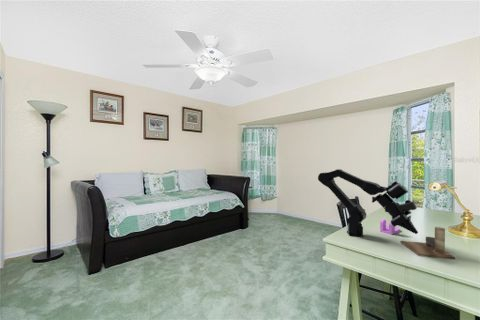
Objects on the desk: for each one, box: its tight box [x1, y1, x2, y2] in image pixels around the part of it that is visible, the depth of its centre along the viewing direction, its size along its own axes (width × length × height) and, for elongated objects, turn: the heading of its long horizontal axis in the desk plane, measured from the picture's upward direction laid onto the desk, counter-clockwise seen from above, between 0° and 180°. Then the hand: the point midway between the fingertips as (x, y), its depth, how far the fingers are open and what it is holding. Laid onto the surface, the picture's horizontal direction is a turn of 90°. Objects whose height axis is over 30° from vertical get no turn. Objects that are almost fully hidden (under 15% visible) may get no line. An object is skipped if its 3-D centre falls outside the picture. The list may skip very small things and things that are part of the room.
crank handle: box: [425, 226, 446, 253], centre depth 96 cm, size 10×4×10 cm, turn 161°
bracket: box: [379, 218, 401, 236], centre depth 122 cm, size 13×6×7 cm, turn 124°
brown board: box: [400, 240, 456, 260], centre depth 97 cm, size 13×15×1 cm
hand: (417, 233), depth 98 cm, fingers closed
